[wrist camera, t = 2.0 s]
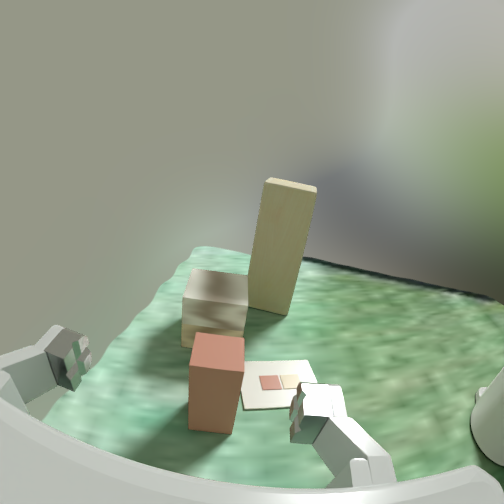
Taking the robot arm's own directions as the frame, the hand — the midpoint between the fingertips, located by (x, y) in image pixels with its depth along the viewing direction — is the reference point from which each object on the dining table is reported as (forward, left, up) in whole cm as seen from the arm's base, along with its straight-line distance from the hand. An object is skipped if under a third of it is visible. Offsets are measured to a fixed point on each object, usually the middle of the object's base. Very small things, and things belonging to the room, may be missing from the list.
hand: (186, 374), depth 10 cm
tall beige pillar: (-9, -38, -20) cm, 44 cm away
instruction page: (-9, -18, -19) cm, 28 cm away
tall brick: (-1, -12, -19) cm, 23 cm away
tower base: (0, -27, -19) cm, 33 cm away
